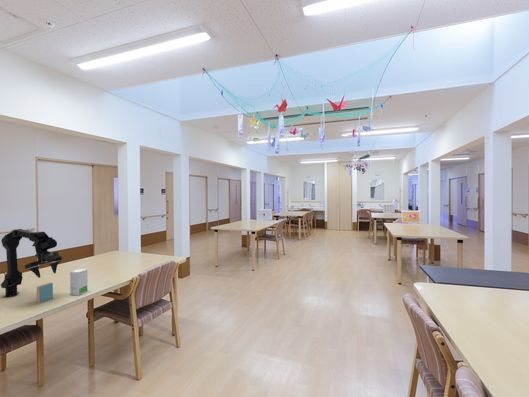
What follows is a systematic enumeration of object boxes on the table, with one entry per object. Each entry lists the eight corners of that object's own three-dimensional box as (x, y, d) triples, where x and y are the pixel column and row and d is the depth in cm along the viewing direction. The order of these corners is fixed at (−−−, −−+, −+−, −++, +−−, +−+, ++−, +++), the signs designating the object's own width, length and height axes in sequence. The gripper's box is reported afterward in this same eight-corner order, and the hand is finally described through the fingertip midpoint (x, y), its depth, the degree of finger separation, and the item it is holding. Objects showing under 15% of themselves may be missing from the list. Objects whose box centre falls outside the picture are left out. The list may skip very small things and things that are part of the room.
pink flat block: (36, 302, 167) (36, 286, 166) (50, 297, 174) (50, 282, 174) (39, 303, 166) (39, 287, 166) (53, 298, 174) (53, 282, 173)
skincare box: (78, 295, 178) (78, 272, 178) (69, 295, 179) (69, 271, 178) (88, 291, 186) (88, 268, 186) (79, 290, 187) (79, 268, 187)
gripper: (34, 251, 159) (40, 277, 158) (65, 245, 177) (71, 268, 176) (21, 255, 162) (27, 281, 161) (53, 249, 180) (58, 272, 179)
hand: (47, 275), depth 169 cm, fingers open, 9 cm apart
